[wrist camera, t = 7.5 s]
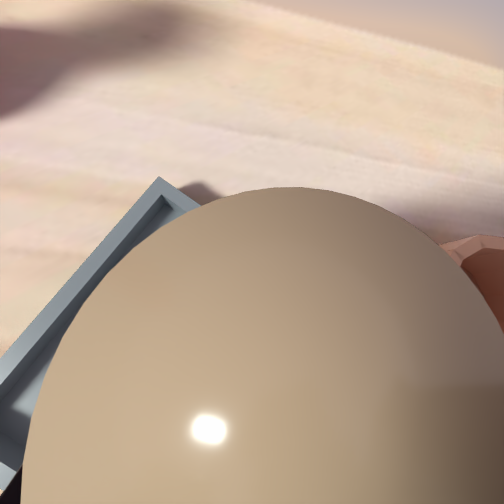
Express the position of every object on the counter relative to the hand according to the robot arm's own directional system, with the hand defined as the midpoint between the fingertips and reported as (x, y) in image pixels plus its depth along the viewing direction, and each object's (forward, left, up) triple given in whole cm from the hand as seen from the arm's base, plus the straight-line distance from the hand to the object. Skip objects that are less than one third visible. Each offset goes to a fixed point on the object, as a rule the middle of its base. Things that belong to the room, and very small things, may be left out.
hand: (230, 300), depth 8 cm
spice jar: (-1, +1, -7) cm, 7 cm away
